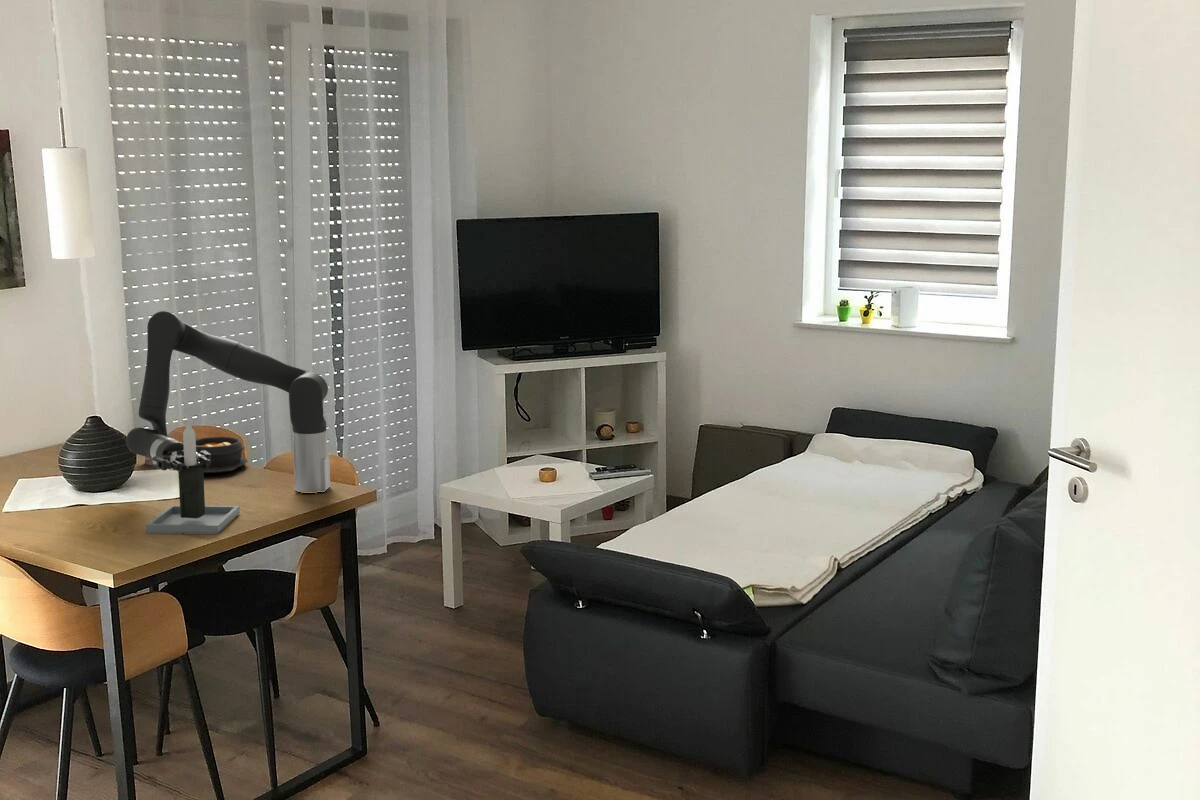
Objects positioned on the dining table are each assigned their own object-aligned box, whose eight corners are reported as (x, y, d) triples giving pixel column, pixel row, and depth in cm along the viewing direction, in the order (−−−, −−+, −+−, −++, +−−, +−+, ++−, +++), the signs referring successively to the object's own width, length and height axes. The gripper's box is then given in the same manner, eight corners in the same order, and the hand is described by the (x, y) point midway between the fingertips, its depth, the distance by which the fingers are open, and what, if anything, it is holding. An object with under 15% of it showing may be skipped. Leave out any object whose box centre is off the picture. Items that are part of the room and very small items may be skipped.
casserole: (246, 476, 355) (245, 449, 353) (180, 480, 350) (179, 452, 348) (248, 458, 378) (247, 432, 377) (186, 460, 374) (185, 434, 372)
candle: (206, 513, 308) (202, 417, 303) (198, 518, 303) (193, 422, 298) (187, 512, 308) (183, 417, 304) (178, 517, 304) (174, 421, 299)
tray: (239, 514, 315) (239, 506, 314) (218, 534, 297) (218, 525, 297) (171, 513, 315) (170, 505, 314) (145, 533, 297) (145, 524, 297)
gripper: (141, 442, 309) (165, 455, 296) (195, 435, 318) (221, 447, 305) (142, 471, 310) (166, 484, 298) (197, 463, 319) (222, 476, 307)
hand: (194, 465), depth 301 cm, fingers closed on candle, 6 cm apart
